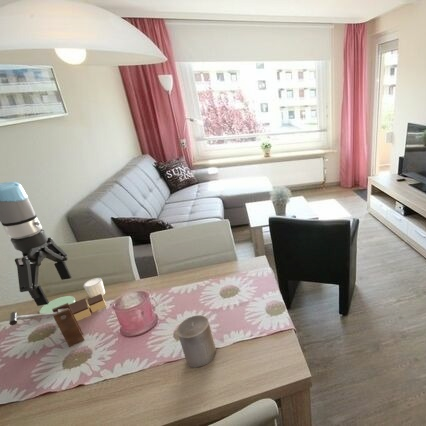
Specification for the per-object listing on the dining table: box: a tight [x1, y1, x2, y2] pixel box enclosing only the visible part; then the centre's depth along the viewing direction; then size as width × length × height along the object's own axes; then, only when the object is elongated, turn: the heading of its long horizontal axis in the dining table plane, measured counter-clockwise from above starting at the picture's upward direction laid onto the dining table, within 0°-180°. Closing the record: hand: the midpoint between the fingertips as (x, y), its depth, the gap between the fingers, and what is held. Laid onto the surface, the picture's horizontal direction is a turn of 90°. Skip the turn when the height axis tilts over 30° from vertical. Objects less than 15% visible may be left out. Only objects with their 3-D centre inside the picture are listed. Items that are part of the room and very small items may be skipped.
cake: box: [69, 298, 92, 322], centre depth 119 cm, size 8×8×5 cm
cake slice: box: [86, 294, 107, 314], centre depth 124 cm, size 5×5×5 cm
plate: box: [38, 295, 77, 314], centre depth 127 cm, size 12×12×1 cm
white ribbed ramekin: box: [82, 277, 106, 298], centre depth 132 cm, size 7×7×7 cm
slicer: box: [9, 308, 68, 326], centre depth 99 cm, size 14×6×2 cm, turn 133°
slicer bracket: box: [52, 303, 85, 348], centre depth 105 cm, size 10×8×16 cm
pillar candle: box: [176, 315, 217, 368], centre depth 98 cm, size 10×10×15 cm
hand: (55, 290), depth 96 cm, fingers open, 13 cm apart
